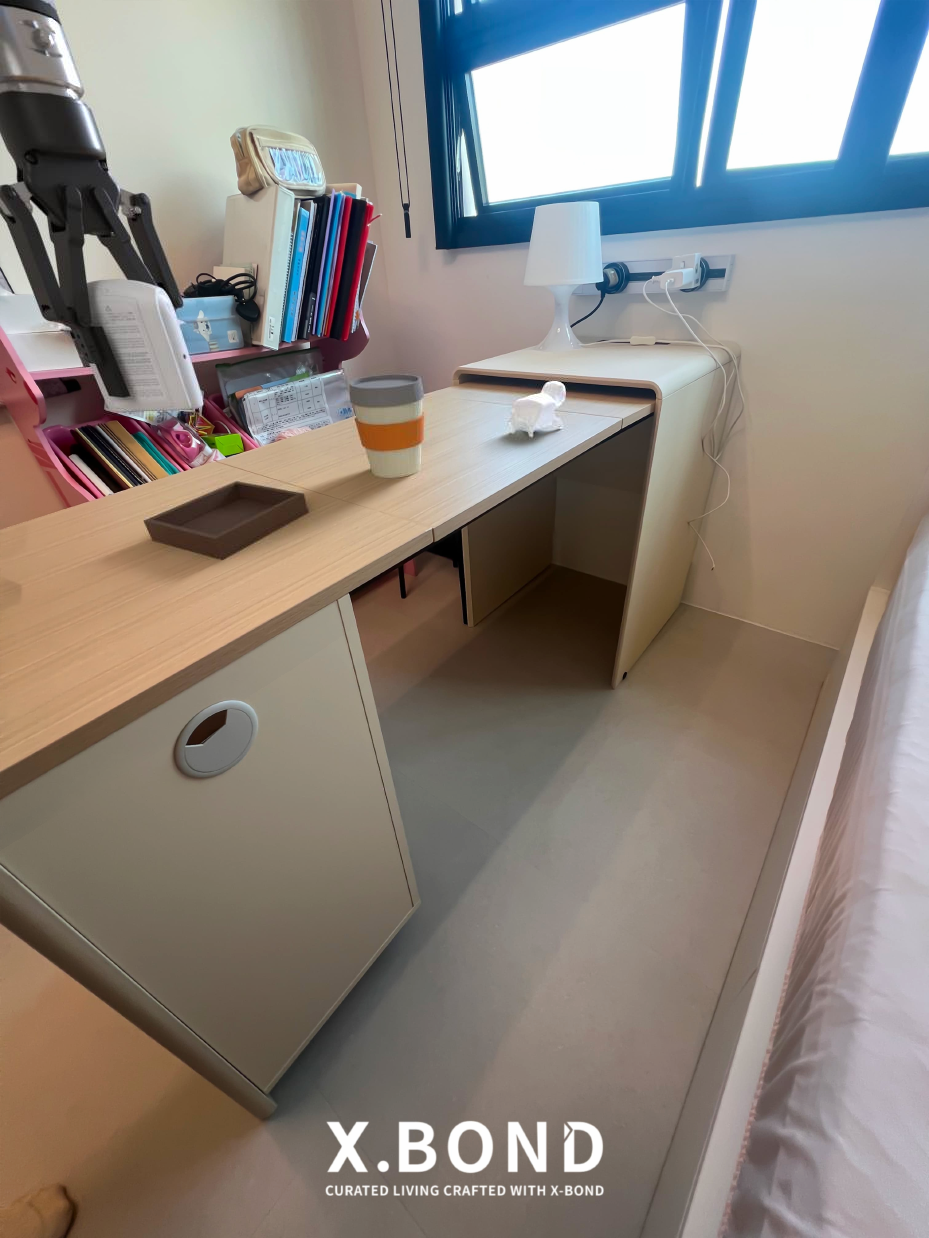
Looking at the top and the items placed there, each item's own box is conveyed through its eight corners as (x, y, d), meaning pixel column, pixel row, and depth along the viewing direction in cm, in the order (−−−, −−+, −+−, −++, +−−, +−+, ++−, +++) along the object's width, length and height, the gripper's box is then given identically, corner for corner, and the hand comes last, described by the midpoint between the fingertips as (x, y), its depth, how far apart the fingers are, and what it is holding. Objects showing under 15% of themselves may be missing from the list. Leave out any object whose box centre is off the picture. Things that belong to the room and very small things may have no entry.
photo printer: (211, 402, 59) (169, 275, 52) (195, 411, 56) (148, 277, 49) (125, 406, 60) (72, 281, 52) (104, 416, 56) (44, 283, 49)
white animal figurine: (540, 451, 107) (579, 410, 112) (532, 415, 101) (574, 374, 106) (509, 444, 112) (547, 405, 117) (500, 410, 106) (541, 370, 111)
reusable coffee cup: (409, 454, 100) (400, 371, 91) (443, 470, 91) (436, 380, 83) (350, 468, 94) (335, 381, 86) (380, 487, 86) (367, 392, 77)
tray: (222, 560, 66) (214, 538, 65) (151, 540, 72) (143, 520, 70) (308, 512, 78) (304, 493, 76) (242, 499, 84) (236, 480, 82)
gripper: (-83, 62, 35) (82, 413, 48) (166, 110, 48) (240, 374, 62) (-126, 83, 38) (40, 407, 51) (119, 123, 51) (199, 371, 65)
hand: (149, 388), depth 57 cm, fingers closed on photo printer, 6 cm apart
